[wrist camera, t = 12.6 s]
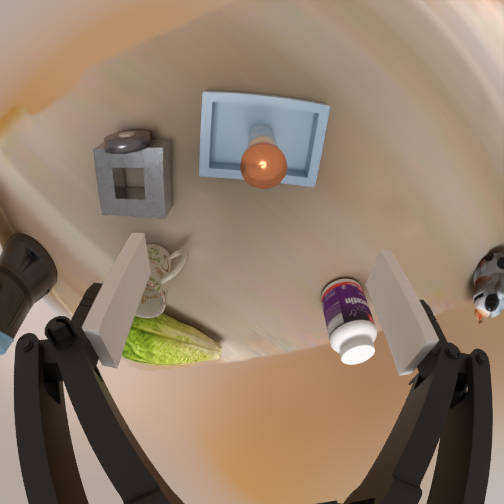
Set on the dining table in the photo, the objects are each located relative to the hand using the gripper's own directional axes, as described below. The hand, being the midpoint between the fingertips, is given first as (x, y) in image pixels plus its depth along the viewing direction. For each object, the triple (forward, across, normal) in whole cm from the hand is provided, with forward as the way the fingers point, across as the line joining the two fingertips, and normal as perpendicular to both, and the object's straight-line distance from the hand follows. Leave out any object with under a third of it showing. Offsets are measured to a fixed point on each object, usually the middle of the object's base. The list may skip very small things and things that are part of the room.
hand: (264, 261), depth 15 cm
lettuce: (+25, -15, -38) cm, 48 cm away
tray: (+25, +1, +1) cm, 25 cm away
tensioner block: (+25, -16, -5) cm, 30 cm away
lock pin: (+24, 0, +1) cm, 24 cm away
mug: (+25, -14, -19) cm, 34 cm away
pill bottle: (+25, +18, -26) cm, 40 cm away
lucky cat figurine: (+25, +56, -19) cm, 64 cm away
